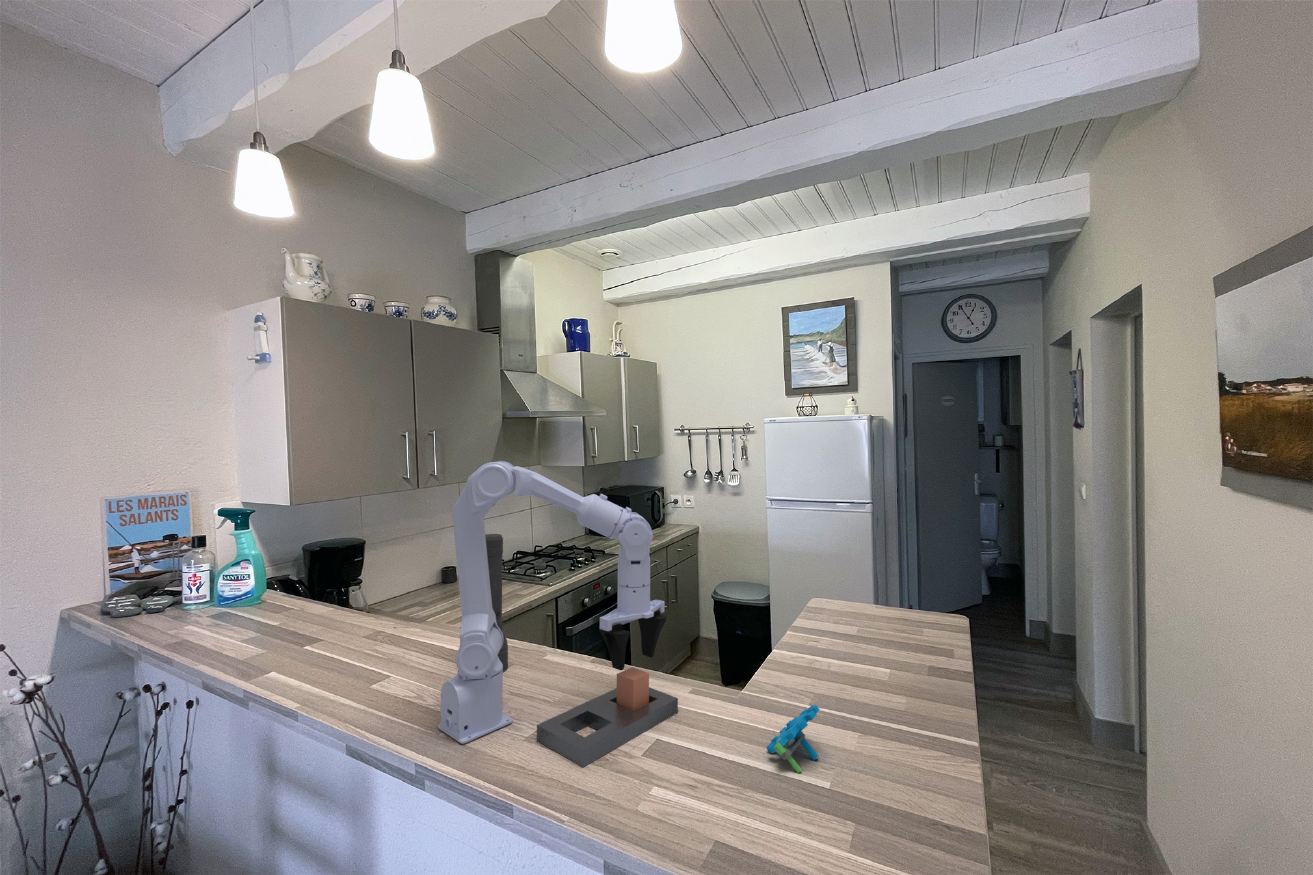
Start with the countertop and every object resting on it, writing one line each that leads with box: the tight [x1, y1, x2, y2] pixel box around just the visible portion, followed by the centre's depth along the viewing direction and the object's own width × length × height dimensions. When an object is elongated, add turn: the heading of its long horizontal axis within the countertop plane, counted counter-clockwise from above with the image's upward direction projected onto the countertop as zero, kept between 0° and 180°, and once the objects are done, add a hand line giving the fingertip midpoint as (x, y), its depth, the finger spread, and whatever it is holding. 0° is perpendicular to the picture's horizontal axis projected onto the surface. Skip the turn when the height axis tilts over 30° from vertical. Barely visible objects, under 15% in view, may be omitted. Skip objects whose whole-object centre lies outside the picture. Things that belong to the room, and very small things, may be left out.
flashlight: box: [485, 533, 509, 673], centre depth 115 cm, size 7×28×7 cm
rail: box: [536, 686, 679, 768], centre depth 92 cm, size 22×11×2 cm, turn 139°
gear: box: [766, 704, 820, 774], centre depth 82 cm, size 11×6×10 cm
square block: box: [616, 666, 650, 711], centre depth 96 cm, size 4×4×7 cm
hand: (633, 661), depth 96 cm, fingers open, 7 cm apart
